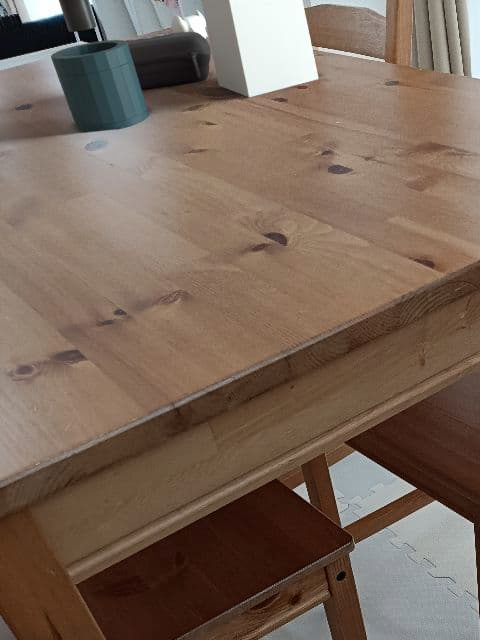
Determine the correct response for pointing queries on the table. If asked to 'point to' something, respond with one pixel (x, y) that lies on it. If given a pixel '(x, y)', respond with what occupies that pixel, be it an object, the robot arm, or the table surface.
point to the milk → (259, 44)
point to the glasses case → (170, 59)
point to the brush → (77, 15)
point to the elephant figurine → (190, 24)
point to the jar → (100, 85)
